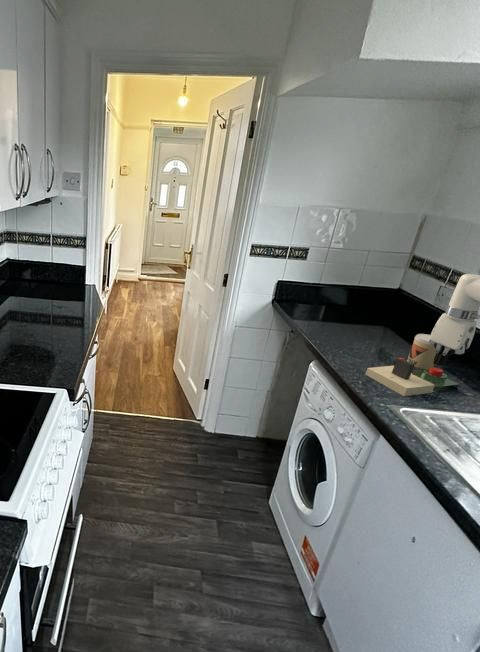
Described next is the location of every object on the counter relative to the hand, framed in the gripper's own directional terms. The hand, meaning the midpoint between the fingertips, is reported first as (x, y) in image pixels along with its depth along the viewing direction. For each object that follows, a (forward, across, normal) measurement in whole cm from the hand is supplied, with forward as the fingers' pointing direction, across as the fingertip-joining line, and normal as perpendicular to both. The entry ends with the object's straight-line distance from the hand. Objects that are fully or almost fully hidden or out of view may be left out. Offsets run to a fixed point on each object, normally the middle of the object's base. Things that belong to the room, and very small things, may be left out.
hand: (438, 364), depth 140 cm
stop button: (+4, 0, 0) cm, 4 cm away
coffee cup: (+7, +11, -8) cm, 15 cm away
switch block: (+7, 0, 0) cm, 7 cm away
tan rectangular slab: (+7, +2, +13) cm, 15 cm away
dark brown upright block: (+4, +2, +13) cm, 14 cm away
